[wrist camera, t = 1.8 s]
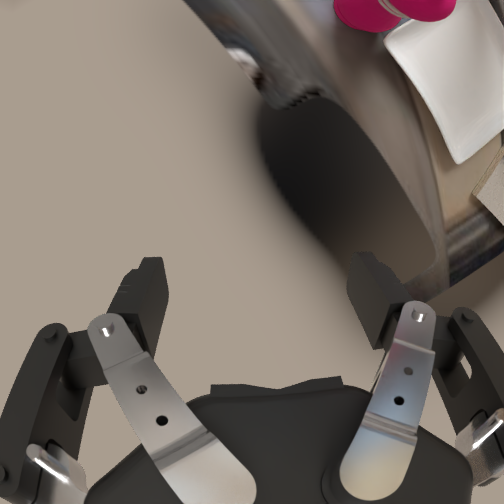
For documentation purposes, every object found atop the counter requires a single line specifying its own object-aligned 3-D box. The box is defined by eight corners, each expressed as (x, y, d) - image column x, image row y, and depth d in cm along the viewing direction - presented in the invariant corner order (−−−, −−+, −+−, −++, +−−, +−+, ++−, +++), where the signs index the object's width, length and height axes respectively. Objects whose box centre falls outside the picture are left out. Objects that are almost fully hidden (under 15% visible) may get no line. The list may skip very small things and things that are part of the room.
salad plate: (522, 96, 26) (535, 102, 23) (447, 160, 35) (458, 169, 33) (463, -18, 17) (477, -20, 14) (369, 40, 27) (379, 40, 24)
